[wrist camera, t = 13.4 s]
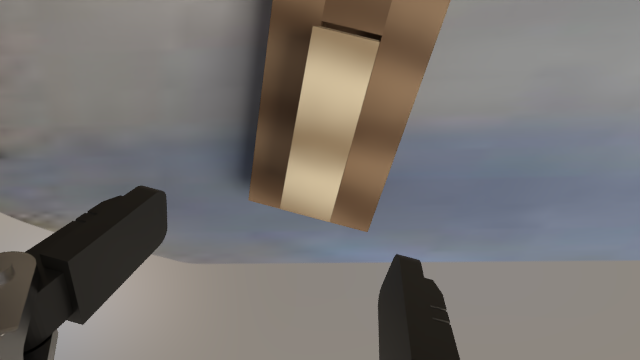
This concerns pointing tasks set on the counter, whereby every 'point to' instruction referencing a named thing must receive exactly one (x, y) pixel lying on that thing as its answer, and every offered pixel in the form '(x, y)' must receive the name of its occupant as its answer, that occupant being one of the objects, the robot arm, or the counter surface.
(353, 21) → the brown slotted wooden block
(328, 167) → the beige wooden plank
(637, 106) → the counter surface
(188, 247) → the counter surface
